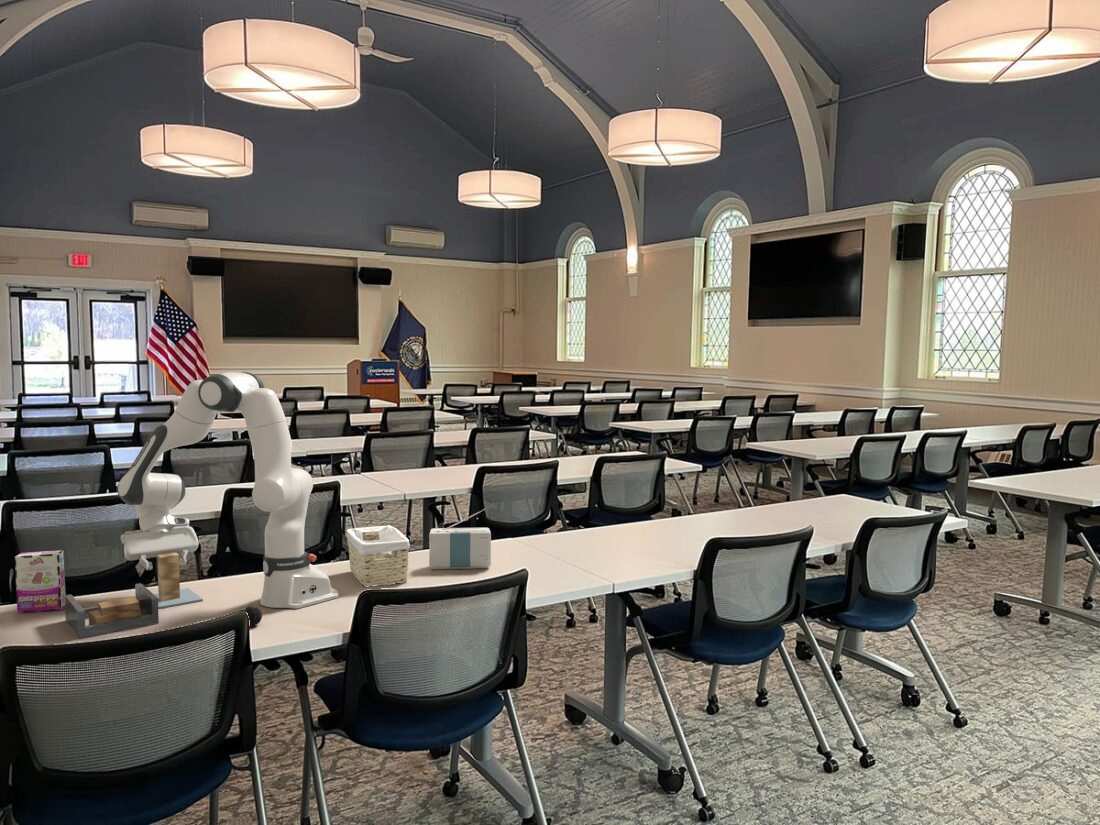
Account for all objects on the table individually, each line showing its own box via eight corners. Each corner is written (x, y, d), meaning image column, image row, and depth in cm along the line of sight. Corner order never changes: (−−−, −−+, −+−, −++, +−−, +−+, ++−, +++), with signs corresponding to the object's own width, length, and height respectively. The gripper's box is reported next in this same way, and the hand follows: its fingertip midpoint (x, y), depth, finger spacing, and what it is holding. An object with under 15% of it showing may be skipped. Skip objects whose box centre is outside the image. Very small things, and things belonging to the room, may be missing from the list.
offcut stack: (137, 616, 226) (136, 595, 225) (144, 623, 221) (144, 601, 220) (88, 626, 218) (88, 604, 217) (95, 632, 213) (94, 610, 212)
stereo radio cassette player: (429, 571, 275) (429, 513, 273) (429, 565, 283) (429, 508, 281) (490, 570, 277) (491, 512, 276) (489, 563, 286) (489, 507, 284)
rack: (141, 607, 233) (140, 583, 233) (158, 623, 220) (158, 598, 219) (65, 620, 221) (64, 595, 221) (79, 638, 207) (78, 611, 207)
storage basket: (411, 584, 259) (411, 539, 258) (360, 590, 252) (360, 543, 251) (392, 566, 281) (392, 524, 280) (345, 571, 274) (344, 528, 273)
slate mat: (188, 590, 250) (188, 588, 250) (202, 601, 240) (202, 599, 239) (139, 598, 241) (139, 596, 241) (151, 610, 231) (151, 608, 230)
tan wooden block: (176, 595, 243) (175, 552, 242) (180, 597, 240) (178, 554, 239) (158, 598, 240) (157, 555, 239) (161, 601, 237) (160, 557, 236)
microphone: (187, 652, 207) (265, 627, 219) (185, 634, 205) (264, 610, 217) (181, 640, 211) (258, 616, 223) (179, 622, 209) (257, 599, 221)
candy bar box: (66, 605, 234) (64, 549, 233) (61, 610, 230) (59, 553, 228) (22, 608, 231) (20, 551, 230) (16, 613, 226) (14, 556, 225)
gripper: (121, 526, 238) (130, 566, 231) (193, 518, 251) (204, 555, 245) (117, 538, 242) (126, 577, 235) (189, 529, 255) (200, 566, 248)
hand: (166, 566), depth 240 cm, fingers open, 8 cm apart
